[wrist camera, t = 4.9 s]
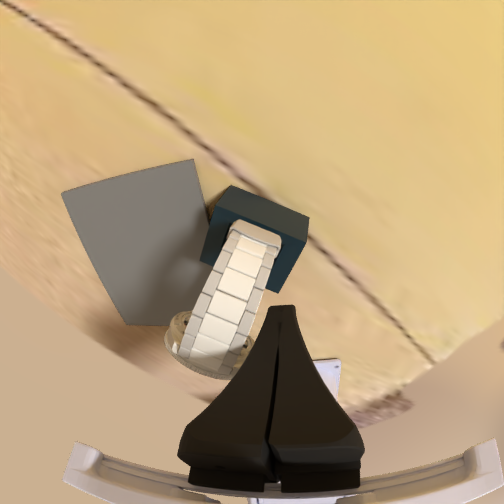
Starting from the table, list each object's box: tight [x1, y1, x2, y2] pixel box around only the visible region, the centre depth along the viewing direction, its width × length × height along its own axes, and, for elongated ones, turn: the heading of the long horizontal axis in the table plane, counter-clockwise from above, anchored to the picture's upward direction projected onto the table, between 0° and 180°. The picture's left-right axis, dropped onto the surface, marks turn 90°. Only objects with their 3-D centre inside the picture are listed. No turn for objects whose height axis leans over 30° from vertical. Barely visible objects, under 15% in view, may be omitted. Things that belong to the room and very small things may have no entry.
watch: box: [164, 185, 309, 380], centre depth 16 cm, size 6×8×11 cm
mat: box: [61, 159, 218, 326], centre depth 23 cm, size 15×12×1 cm
